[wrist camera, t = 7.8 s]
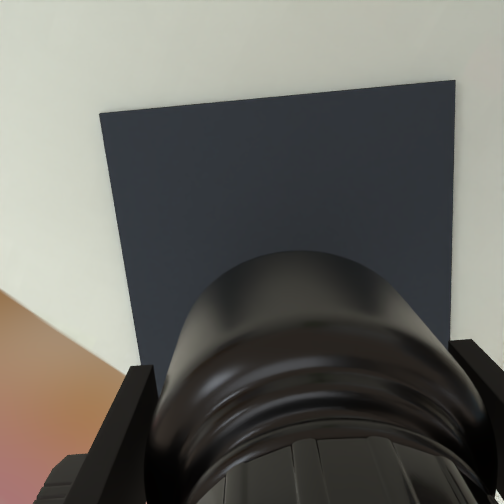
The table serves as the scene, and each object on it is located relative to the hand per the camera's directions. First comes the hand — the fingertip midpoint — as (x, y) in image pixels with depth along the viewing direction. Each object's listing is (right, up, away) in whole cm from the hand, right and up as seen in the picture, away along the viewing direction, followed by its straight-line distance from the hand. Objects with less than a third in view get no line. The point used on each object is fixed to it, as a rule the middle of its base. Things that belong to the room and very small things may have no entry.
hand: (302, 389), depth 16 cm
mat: (+1, +4, +14) cm, 14 cm away
